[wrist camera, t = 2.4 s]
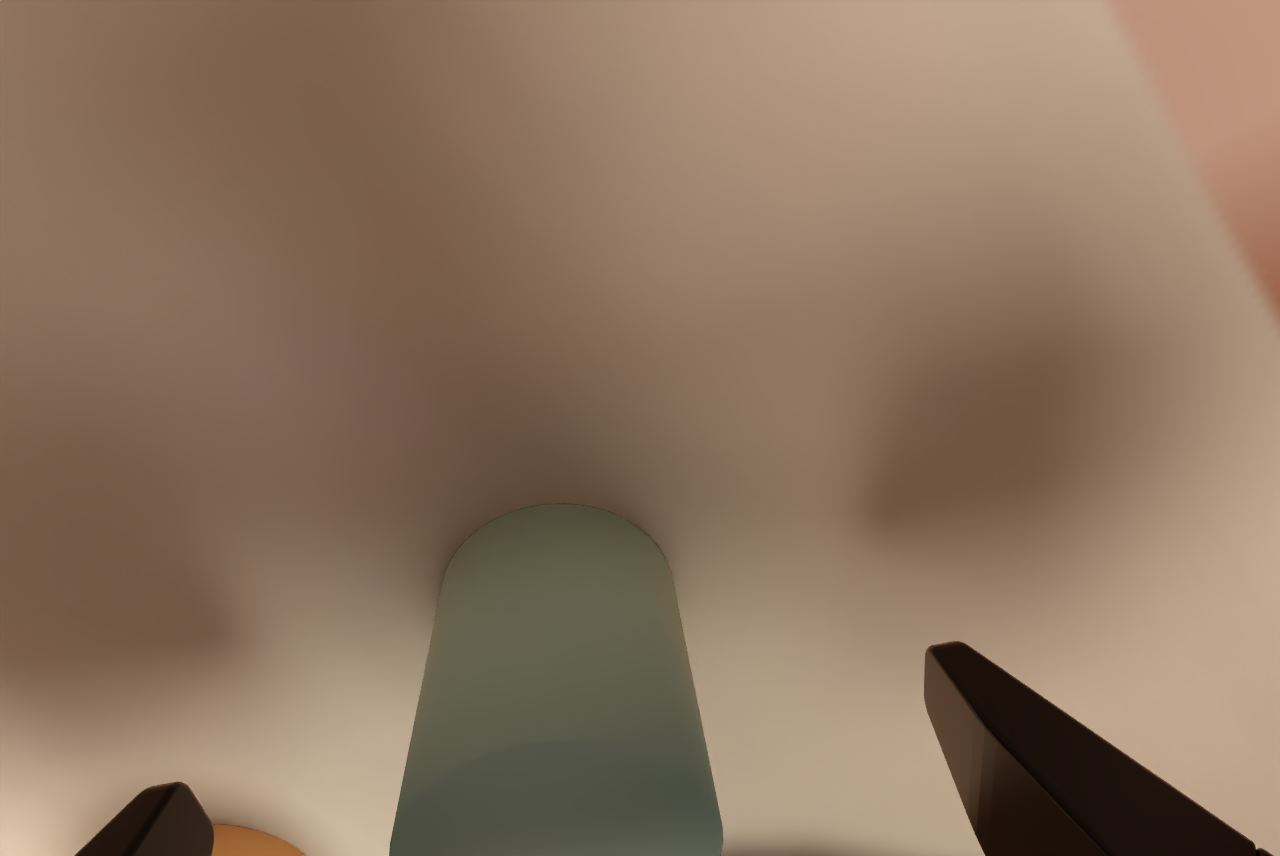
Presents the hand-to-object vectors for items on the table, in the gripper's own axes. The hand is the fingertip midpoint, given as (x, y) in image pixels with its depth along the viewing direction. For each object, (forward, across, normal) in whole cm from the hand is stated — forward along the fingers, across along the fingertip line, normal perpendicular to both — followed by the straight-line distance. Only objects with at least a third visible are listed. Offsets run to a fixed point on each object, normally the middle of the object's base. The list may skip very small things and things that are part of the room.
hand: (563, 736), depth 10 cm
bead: (+2, 0, 0) cm, 2 cm away
